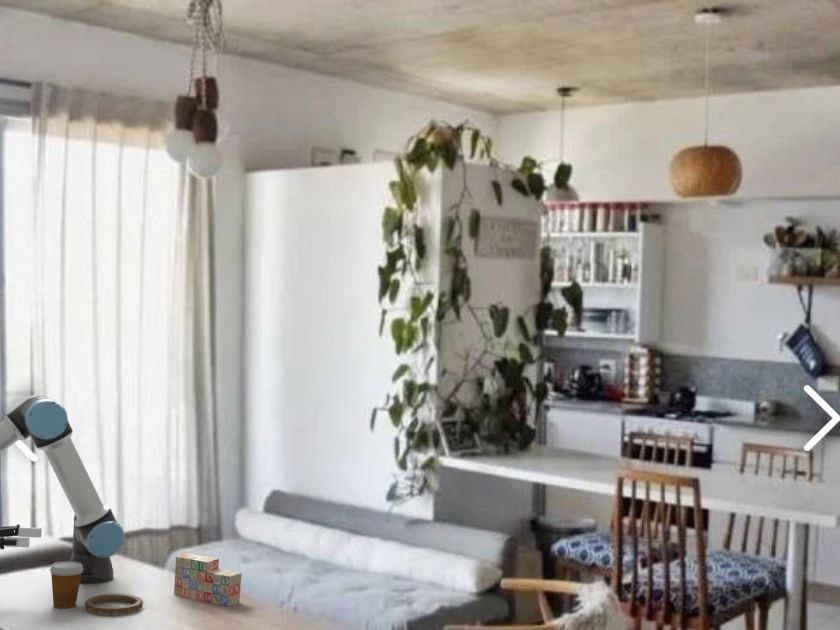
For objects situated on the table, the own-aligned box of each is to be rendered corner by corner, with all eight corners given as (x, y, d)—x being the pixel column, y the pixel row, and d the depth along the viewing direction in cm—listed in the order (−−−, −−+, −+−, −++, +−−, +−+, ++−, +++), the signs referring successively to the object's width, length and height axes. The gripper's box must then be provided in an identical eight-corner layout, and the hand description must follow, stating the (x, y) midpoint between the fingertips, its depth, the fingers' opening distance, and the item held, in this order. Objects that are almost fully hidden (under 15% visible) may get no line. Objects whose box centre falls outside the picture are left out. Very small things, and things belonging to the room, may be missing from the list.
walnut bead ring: (116, 597, 319) (116, 591, 319) (152, 607, 311) (153, 601, 311) (73, 608, 306) (74, 601, 306) (111, 618, 297) (111, 611, 297)
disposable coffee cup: (70, 611, 302) (73, 570, 302) (41, 607, 304) (43, 566, 304) (87, 603, 312) (90, 563, 312) (58, 599, 314) (61, 559, 314)
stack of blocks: (240, 602, 322) (242, 563, 322) (227, 607, 317) (230, 566, 317) (186, 591, 332) (188, 552, 332) (173, 595, 327) (175, 555, 327)
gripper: (-27, 538, 317) (45, 541, 319) (-56, 557, 292) (22, 560, 295) (-26, 513, 317) (46, 516, 320) (-54, 530, 293) (24, 533, 295)
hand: (35, 537), depth 307 cm, fingers open, 13 cm apart
